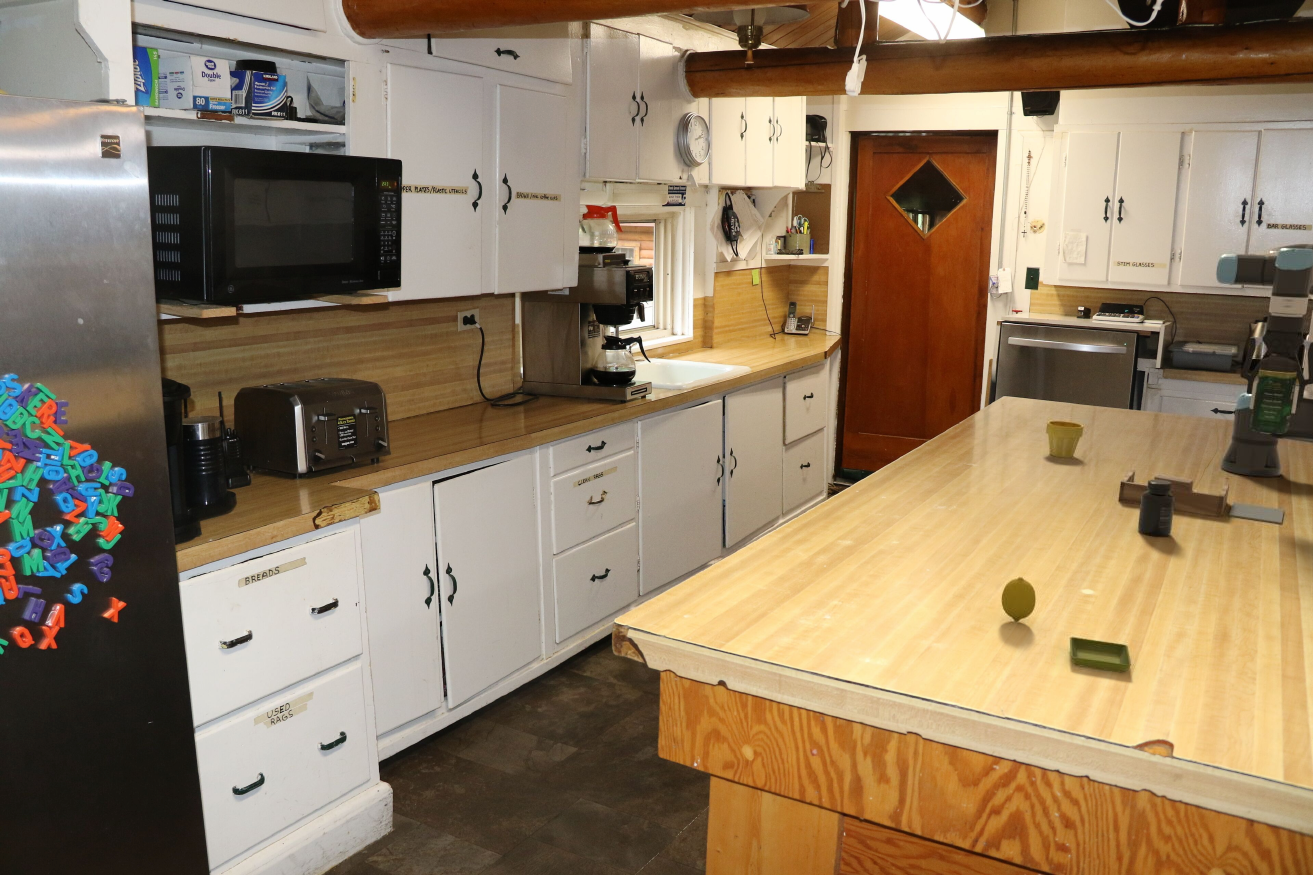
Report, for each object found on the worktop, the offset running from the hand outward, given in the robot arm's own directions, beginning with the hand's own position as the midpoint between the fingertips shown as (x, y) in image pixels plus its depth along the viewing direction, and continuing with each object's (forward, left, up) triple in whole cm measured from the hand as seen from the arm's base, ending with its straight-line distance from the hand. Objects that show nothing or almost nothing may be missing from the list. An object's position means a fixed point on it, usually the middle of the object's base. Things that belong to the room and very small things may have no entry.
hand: (1272, 410), depth 245 cm
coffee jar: (0, 0, -5) cm, 5 cm away
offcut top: (+5, -19, -21) cm, 29 cm away
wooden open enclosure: (+1, -18, -26) cm, 32 cm away
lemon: (+108, -30, -26) cm, 115 cm away
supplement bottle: (+34, -18, -26) cm, 47 cm away
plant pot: (-38, -53, -26) cm, 71 cm away
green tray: (+117, -15, -26) cm, 121 cm away
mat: (0, 0, -26) cm, 26 cm away
